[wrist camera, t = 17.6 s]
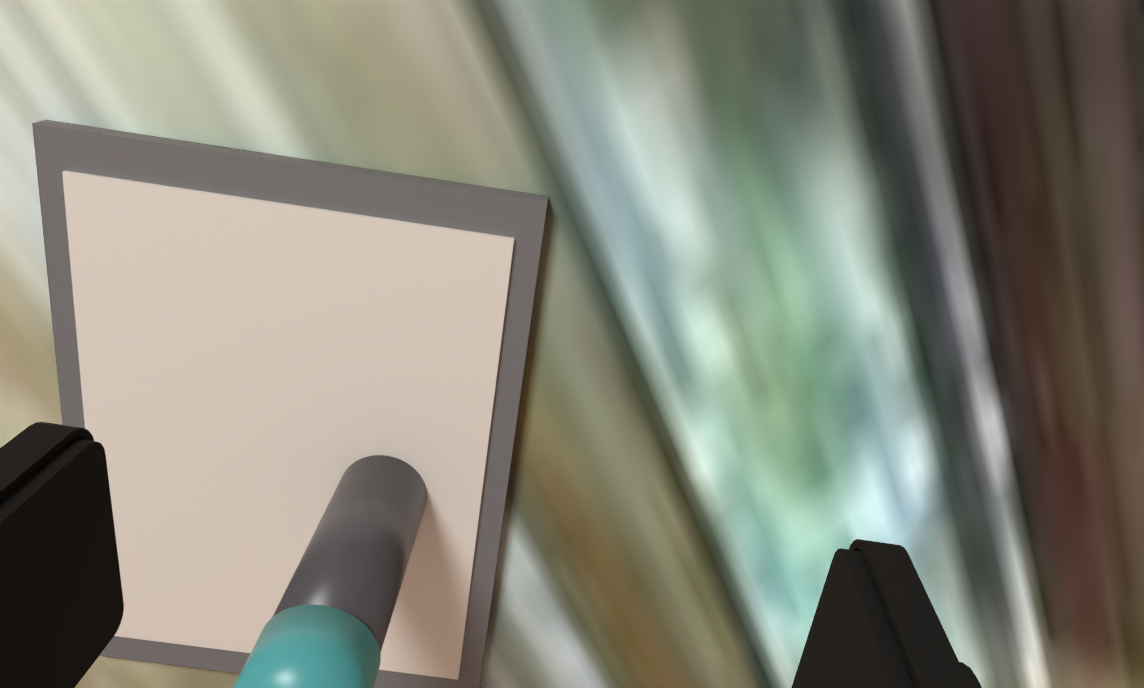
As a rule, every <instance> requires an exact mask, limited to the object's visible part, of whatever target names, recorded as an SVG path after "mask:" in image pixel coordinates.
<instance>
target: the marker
mask: <svg viewBox="0 0 1144 688" xmlns="http://www.w3.org/2000/svg"><path fill="white" fill-rule="evenodd" d="M426 503H427V489H426V485H425V483H424V481H423V479H422V477H421V476H420V474H419V473H418V472H417V471H416V470H415V469H414V468H413V467H412V466H410V465H409V464H408V463H406V462H404V461H402V460H400V459H398V458H395V457H391V456H385V455H373V456H368V457H364V458H362V459H359V460H357V461H356V462H354V463H353V464H351V465H350V466H349V467H348V468H347V469H346V471H345V472H344V474H343V476H342V478H341V480H340V482H339V484H338V486H337V488H336V490H335V492H334V494H333V496H332V498H331V500H330V502H329V504H328V506H327V508H326V510H325V512H324V514H323V516H322V518H321V520H320V522H319V524H318V526H317V528H316V530H315V532H314V534H313V536H312V538H311V540H310V542H309V544H308V546H307V548H306V550H305V552H304V554H303V556H302V558H301V561H300V563H299V565H298V567H297V569H296V571H295V573H294V575H293V577H292V579H291V581H290V583H289V585H288V587H287V589H286V591H285V593H284V595H283V597H282V599H281V601H280V603H279V605H278V607H277V609H276V611H275V613H274V615H273V617H272V618H271V619H270V620H269V621H268V622H267V623H266V625H265V626H264V628H263V630H262V632H261V634H260V636H259V638H258V640H257V642H256V644H255V646H254V648H253V650H252V652H251V654H250V656H249V658H248V660H247V662H246V664H245V666H244V668H243V670H242V672H241V673H240V675H239V677H238V679H237V681H236V683H235V685H234V687H233V688H373V687H374V684H375V680H376V677H377V674H378V670H379V667H380V661H381V654H380V653H381V650H382V646H383V643H384V640H385V637H386V633H387V630H388V627H389V624H390V620H391V617H392V614H393V611H394V607H395V604H396V601H397V598H398V594H399V591H400V588H401V585H402V581H403V578H404V575H405V572H406V568H407V565H408V562H409V559H410V555H411V552H412V549H413V546H414V542H415V539H416V536H417V533H418V529H419V526H420V523H421V520H422V516H423V513H424V510H425V507H426Z"/></svg>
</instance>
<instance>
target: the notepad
mask: <svg viewBox="0 0 1144 688" xmlns="http://www.w3.org/2000/svg"><path fill="white" fill-rule="evenodd" d="M32 125H33V135H34V145H35V155H36V165H37V175H38V185H39V195H40V205H41V215H42V225H43V234H44V244H45V254H46V264H47V274H48V284H49V294H50V304H51V314H52V324H53V334H54V344H55V354H56V364H57V374H58V384H59V394H60V404H61V414H62V424H63V425H66V426H73V427H80V428H85V429H87V430H89V431H90V433H91V434H92V436H93V439H94V441H96V442H99V443H101V444H102V445H103V447H104V450H105V454H106V462H107V470H108V478H109V487H110V495H111V503H112V511H113V520H114V528H115V536H116V544H117V552H118V561H119V569H120V577H121V585H122V593H123V602H124V611H123V617H122V620H121V624H120V626H119V628H118V630H117V632H116V634H115V635H114V637H113V638H112V639H111V641H110V642H109V643H108V645H107V646H106V647H105V649H104V650H103V651H102V652H101V654H100V655H99V656H105V657H113V658H121V659H129V660H137V661H144V662H152V663H160V664H168V665H176V666H184V667H192V668H200V669H208V670H216V671H224V672H232V673H241V672H242V670H243V668H244V666H245V664H246V662H247V660H248V658H249V656H250V654H251V652H252V650H253V648H254V646H255V644H256V642H257V640H258V638H259V636H260V634H261V632H262V630H263V628H264V626H265V625H266V623H267V622H268V621H269V620H270V619H271V618H272V617H273V615H274V613H275V611H276V609H277V607H278V605H279V603H280V601H281V599H282V597H283V595H284V593H285V591H286V589H287V587H288V585H289V583H290V581H291V579H292V577H293V575H294V573H295V571H296V569H297V567H298V565H299V563H300V561H301V558H302V556H303V554H304V552H305V550H306V548H307V546H308V544H309V542H310V540H311V538H312V536H313V534H314V532H315V530H316V528H317V526H318V524H319V522H320V520H321V518H322V516H323V514H324V512H325V510H326V508H327V506H328V504H329V502H330V500H331V498H332V496H333V494H334V492H335V490H336V488H337V486H338V484H339V482H340V480H341V478H342V476H343V474H344V472H345V471H346V469H347V468H348V467H349V466H350V465H351V464H353V463H354V462H356V461H357V460H359V459H362V458H364V457H368V456H373V455H385V456H391V457H395V458H398V459H400V460H402V461H404V462H406V463H408V464H409V465H410V466H412V467H413V468H414V469H415V470H416V471H417V472H418V473H419V474H420V476H421V477H422V479H423V481H424V483H425V485H426V489H427V503H426V507H425V510H424V513H423V516H422V520H421V523H420V526H419V529H418V533H417V536H416V539H415V542H414V546H413V549H412V552H411V555H410V559H409V562H408V565H407V568H406V572H405V575H404V578H403V581H402V585H401V588H400V591H399V594H398V598H397V601H396V604H395V607H394V611H393V614H392V617H391V620H390V624H389V627H388V630H387V633H386V637H385V640H384V643H383V646H382V650H381V653H380V654H381V661H380V667H379V670H378V674H377V677H376V680H375V684H374V687H373V688H479V687H480V680H481V672H482V665H483V658H484V651H485V644H486V637H487V630H488V623H489V616H490V609H491V601H492V594H493V587H494V580H495V573H496V566H497V559H498V552H499V545H500V538H501V530H502V523H503V516H504V509H505V502H506V495H507V488H508V481H509V474H510V466H511V459H512V452H513V445H514V438H515V431H516V424H517V417H518V410H519V403H520V395H521V388H522V381H523V374H524V367H525V360H526V353H527V346H528V339H529V332H530V324H531V317H532V310H533V303H534V296H535V289H536V282H537V275H538V268H539V260H540V253H541V246H542V239H543V232H544V225H545V218H546V211H547V204H548V197H549V196H542V195H536V194H529V193H523V192H516V191H510V190H503V189H496V188H490V187H483V186H477V185H470V184H464V183H457V182H451V181H444V180H437V179H431V178H424V177H418V176H411V175H405V174H398V173H391V172H385V171H378V170H372V169H365V168H359V167H352V166H345V165H339V164H332V163H326V162H319V161H313V160H306V159H299V158H293V157H286V156H280V155H273V154H267V153H260V152H253V151H247V150H240V149H234V148H227V147H221V146H214V145H207V144H201V143H194V142H188V141H181V140H175V139H168V138H161V137H155V136H148V135H142V134H135V133H129V132H122V131H115V130H109V129H102V128H96V127H89V126H83V125H76V124H70V123H63V122H56V121H50V120H44V121H40V122H36V123H32Z"/></svg>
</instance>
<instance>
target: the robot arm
mask: <svg viewBox="0 0 1144 688" xmlns="http://www.w3.org/2000/svg"><path fill="white" fill-rule="evenodd" d="M123 611H124V602H123V593H122V585H121V577H120V569H119V561H118V552H117V544H116V536H115V528H114V520H113V511H112V503H111V495H110V487H109V478H108V470H107V462H106V454H105V450H104V447H103V445H102V444H101V443H99V442H96V441H94V439H93V436H92V434H91V433H90V431H89V430H87V429H85V428H80V427H73V426H66V425H59V424H52V423H45V422H38V423H34V424H33V425H31V426H29V427H28V428H26V429H25V430H24V431H22V432H21V433H20V434H18V435H17V436H16V437H14V438H13V439H12V440H11V441H9V442H8V443H7V444H5V445H4V446H3V447H1V448H0V688H74V687H75V686H76V685H77V684H78V682H79V681H80V680H81V678H82V677H83V676H84V674H85V673H86V672H87V671H88V669H89V668H90V667H91V665H92V664H93V663H94V662H95V660H96V659H97V658H98V656H99V655H100V654H101V652H102V651H103V650H104V649H105V647H106V646H107V645H108V643H109V642H110V641H111V639H112V638H113V637H114V635H115V634H116V632H117V630H118V628H119V626H120V624H121V620H122V617H123ZM792 688H982V687H981V685H980V683H979V681H978V679H977V678H976V676H975V675H974V673H973V671H972V670H971V668H969V667H968V666H967V665H965V664H964V663H961V662H959V661H958V659H957V657H956V655H955V653H954V651H953V648H952V646H951V644H950V642H949V640H948V638H947V636H946V633H945V631H944V629H943V627H942V625H941V623H940V621H939V619H938V616H937V614H936V612H935V610H934V608H933V606H932V604H931V602H930V599H929V597H928V595H927V593H926V591H925V589H924V587H923V585H922V582H921V580H920V578H919V576H918V574H917V572H916V570H915V567H914V565H913V563H912V561H911V559H910V557H909V555H908V553H907V551H906V550H905V548H904V547H902V546H900V545H894V544H887V543H880V542H873V541H866V540H859V539H857V540H855V541H853V543H852V544H851V545H850V548H849V550H847V549H838V550H837V551H836V552H835V554H834V557H833V560H832V563H831V566H830V569H829V572H828V575H827V578H826V581H825V585H824V588H823V591H822V594H821V597H820V600H819V603H818V607H817V610H816V613H815V616H814V619H813V622H812V625H811V628H810V632H809V635H808V638H807V641H806V644H805V647H804V650H803V654H802V657H801V660H800V663H799V666H798V669H797V672H796V675H795V679H794V682H793V685H792Z"/></svg>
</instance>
